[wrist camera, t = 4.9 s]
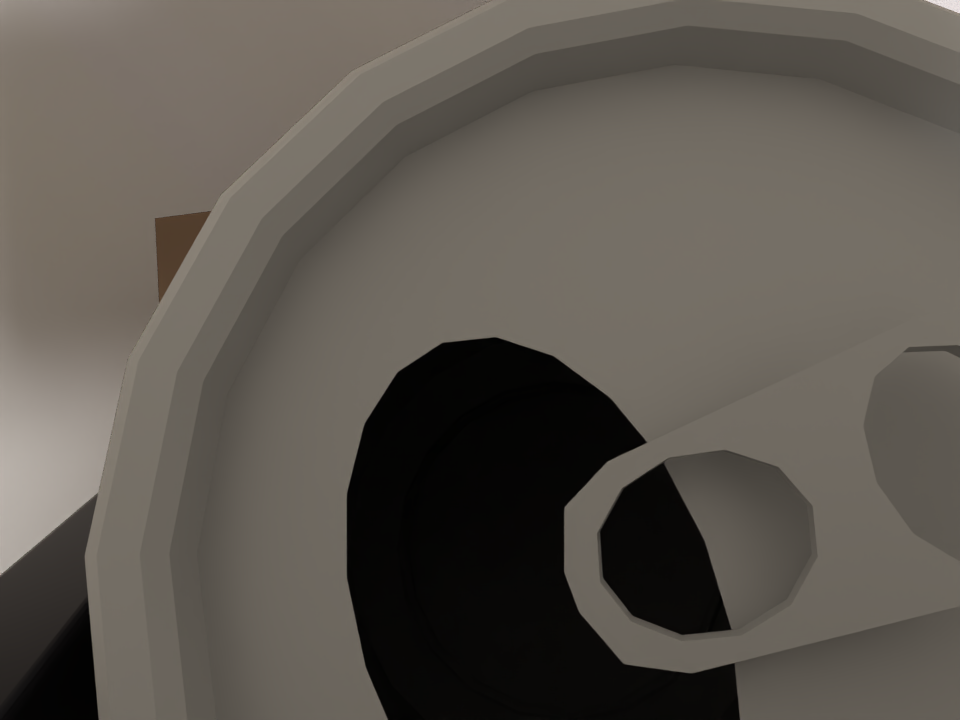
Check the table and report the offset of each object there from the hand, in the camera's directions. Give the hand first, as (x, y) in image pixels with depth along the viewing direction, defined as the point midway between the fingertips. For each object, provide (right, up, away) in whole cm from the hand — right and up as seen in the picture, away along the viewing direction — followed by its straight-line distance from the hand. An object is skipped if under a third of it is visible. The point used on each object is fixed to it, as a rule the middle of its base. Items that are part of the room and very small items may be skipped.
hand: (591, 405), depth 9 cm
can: (0, -3, +7) cm, 7 cm away
